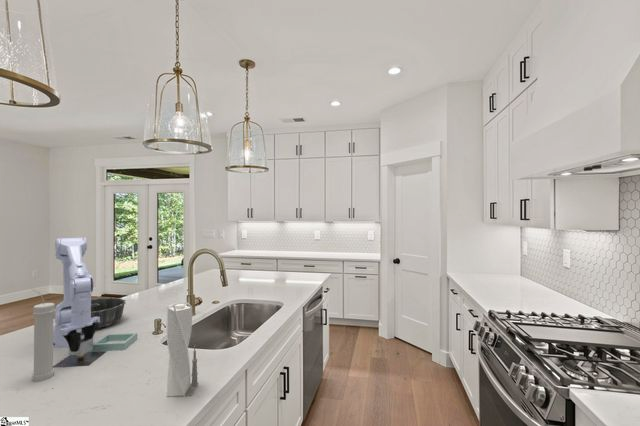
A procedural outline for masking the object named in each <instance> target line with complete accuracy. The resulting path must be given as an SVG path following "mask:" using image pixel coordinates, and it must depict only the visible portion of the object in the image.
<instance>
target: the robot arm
mask: <svg viewBox="0 0 640 426" xmlns="http://www.w3.org/2000/svg"><path fill="white" fill-rule="evenodd" d="M87 241H88V240H87V238H86V237H85V236H83V237H64V238H63V237H61V238H60V237H57V238H56V239H55V244H54V245H55V246H54V247H55V248H54V249H55V253H54V254H55V255H54V256H55V258H56V259H57V260H60V261H61V262H62V263H61V264H62V277H63V278H62V280H63V282H62V284H63V300H62V301H61V302H59V303H58V304H56V305H55V312H54V323H55V325H53V348H57V347H59V348H67V347H68V348H69V347H70V351H71V352H76V351H77V350H78V342H79V338H80V335H81V334H85V337H86V338H93V339H94V335H95V334H96V331H97V330H98V329H97V328H98V324H95V323H96V322H100V317H93V318H91V299H92V292H93V291H94V280H93V279H94V278H93V275H91V274H89V269H88V265H87V264H86V263H84V262H83V257H84V255H86V252H87V249H88V242H87ZM69 306H71V308H65V309H62V308H64V307H69Z"/></svg>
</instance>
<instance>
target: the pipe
mask: <svg viewBox="0 0 640 426" xmlns="http://www.w3.org/2000/svg"><path fill="white" fill-rule="evenodd" d="M31 290H32V291H34V292H35V293H38V294H39V296H40V297H41V298H42V301H43V303H39V304H36V305H34V306H33V308H32V310H33V311H32V315H33V319H34V323H33V324H34V325H33V326H34V328H33V329H34V330H33V333H34V334H33V342H34V343H33V373H32V374H31V378H32V381H33V382H43V381H47V380H49V379H51V378H53V377H54V376H55V369H56V368H53V366H54V347H53V327H54V319H55V308H56V305H55V302H45V299H44V297H43V296H42V294H41V293H40V292H39V291H38V290H36V289H31Z"/></svg>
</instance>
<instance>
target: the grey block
mask: <svg viewBox="0 0 640 426" xmlns="http://www.w3.org/2000/svg"><path fill="white" fill-rule="evenodd" d="M93 343H94V337H93V338H86V337H85V334H83V333H82V334H81V335H80V338H79V342H78V350H77V351H76V352H71V351H70V347H68V356H69V355H83V354H85V353H87V352H91V350H93Z"/></svg>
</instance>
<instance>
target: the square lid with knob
mask: <svg viewBox="0 0 640 426" xmlns="http://www.w3.org/2000/svg"><path fill="white" fill-rule="evenodd" d="M107 352H108V351H92V352H91V351H89V352H87V353H85V354H83V355H69V354H68V355H67V356H66V357H65V358H63V359H61V360H60V361H59V362H57V363H56V364H53V369H56V368H71V367H72V368H73V367H75V368H76V367H87V366H88V367H89V366H91V365H92V364H93V363H94V362H95V361H97V360H98V359H99V358H101V357H103V356H104V355H105V354H106V353H107Z"/></svg>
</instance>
